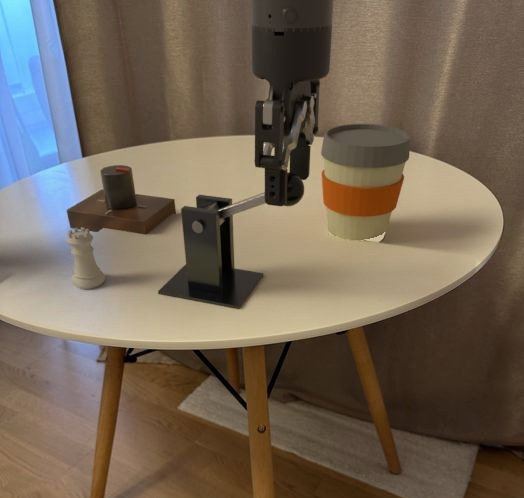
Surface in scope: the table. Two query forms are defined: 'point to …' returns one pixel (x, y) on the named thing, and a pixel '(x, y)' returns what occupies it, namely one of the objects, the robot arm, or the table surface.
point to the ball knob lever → (262, 199)
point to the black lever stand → (210, 259)
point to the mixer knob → (118, 187)
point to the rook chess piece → (84, 260)
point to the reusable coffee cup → (362, 177)
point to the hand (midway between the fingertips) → (288, 190)
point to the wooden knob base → (120, 214)
